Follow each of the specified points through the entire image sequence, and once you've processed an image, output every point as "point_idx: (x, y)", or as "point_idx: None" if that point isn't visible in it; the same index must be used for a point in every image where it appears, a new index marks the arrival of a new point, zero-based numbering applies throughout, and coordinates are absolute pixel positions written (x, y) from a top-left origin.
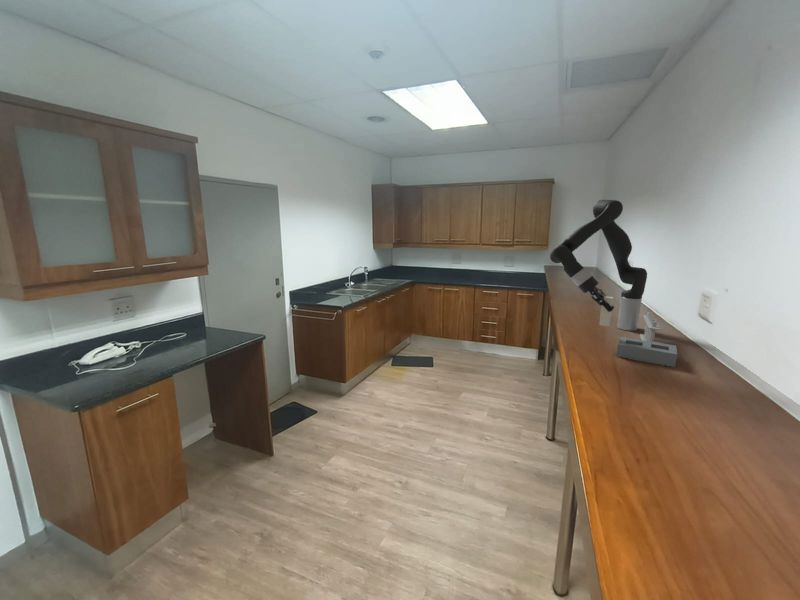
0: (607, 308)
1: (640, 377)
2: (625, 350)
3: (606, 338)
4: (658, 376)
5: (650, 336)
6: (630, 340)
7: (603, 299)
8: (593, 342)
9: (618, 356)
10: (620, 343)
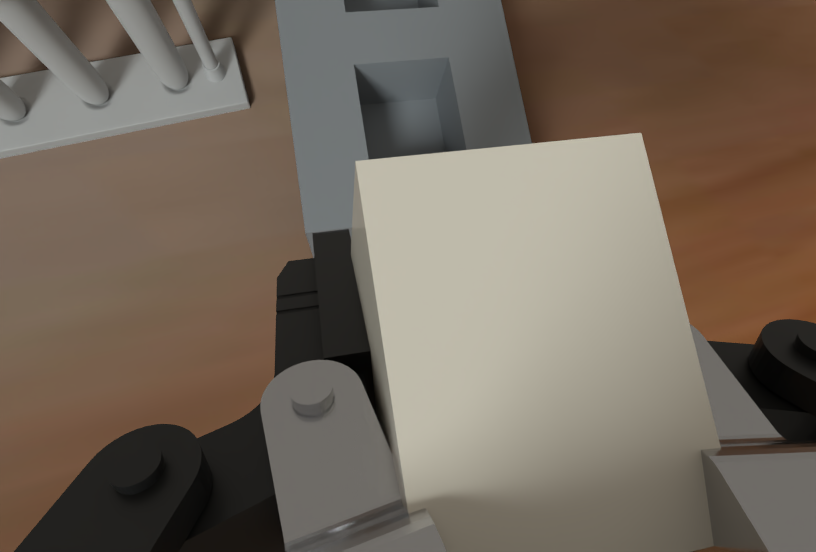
0: None
1: (734, 70)
2: None
3: (93, 406)
4: (653, 6)
5: (150, 25)
6: (362, 147)
7: (763, 436)
8: None
9: None
10: None
